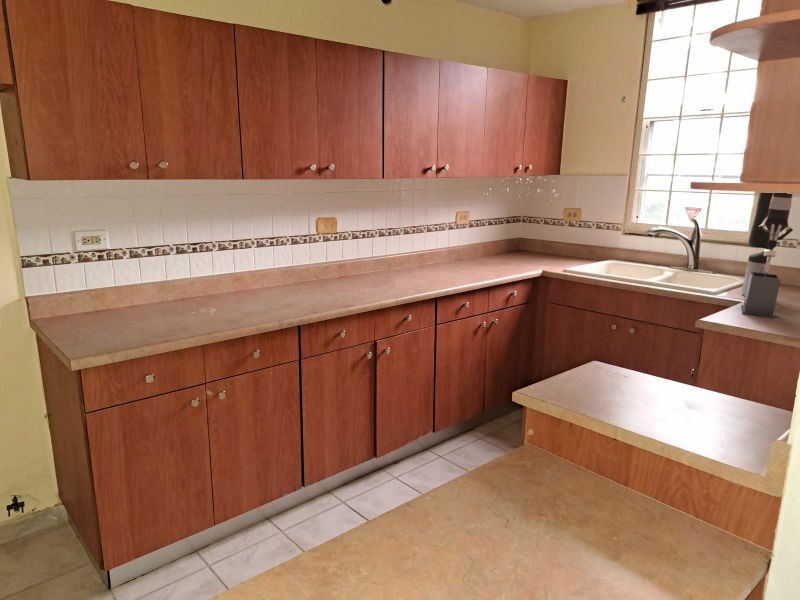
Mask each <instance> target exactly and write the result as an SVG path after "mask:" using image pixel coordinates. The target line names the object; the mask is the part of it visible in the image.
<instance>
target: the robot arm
mask: <svg viewBox="0 0 800 600" xmlns="http://www.w3.org/2000/svg"><path fill="white" fill-rule="evenodd" d="M793 195H794V193H793V194H787V193H760V192H759V194H758V198H757V203H756V204H757V205H756V210H755V215H754V220H753V223H752V226H751V230H750V234H749V238H748V246H749V247H751V248H759V249H764V250H763V251H761V252H758V253H757V252H756V253H752V254H749V256H748V260H747V263H746V269H745V275H744V279H743V285H742V288H741V295H742V296H746V291H747V286H748V281H749V276H750V272H758V270H759V268H760V266H764V271H765V267H766V262H767V257H768V256H764V251H765V250H774V249H775V248H776V247H777V242H778V241H780V240H784V238H785V237H787V236H788V235H789V234H791V233H792V232H793V231H794V229H793V228H791V226H790V225H789V222H788V220H789V216H790V212H791V211H790V210H791V208H792V200H793ZM763 222H764V223H763ZM783 230H784V232H783ZM782 232H783V233H782ZM781 233H782V234H781ZM771 260H772V258H771V259H770V262H771ZM770 265H771V263H770V264H769V266H770ZM769 268H770V267H769ZM769 268H768V271H769V270H770V269H769ZM767 274H769V272H768V273H767Z"/></svg>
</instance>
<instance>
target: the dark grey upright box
mask: <svg viewBox="0 0 800 600" xmlns="http://www.w3.org/2000/svg"><path fill="white" fill-rule="evenodd" d="M763 276H764V273H758V272H750V276H749V281H748V286H747V291H746V296H745V297H744V302H743V304H742V305H741V307H740V310H741V314H742V315H745V316H746V315H747V316H752V317H753V316H754V317H758V318H759V317H760V318H765V317H767V318H766V319H772V318H774V319H775V317H776V315H775V307H776V304H777V303H776V302H777V299H778V294H779V290H780V285H781V282H782V281H781V280H782V279H781V277H780V276H779V274H775V273H768V274H767V277H763Z"/></svg>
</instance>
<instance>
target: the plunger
mask: <svg viewBox="0 0 800 600" xmlns="http://www.w3.org/2000/svg"><path fill="white" fill-rule="evenodd" d="M764 250H765V249H764ZM764 250H763V251H764ZM776 254H777V250H774V249H773V250H765V251H764V256H768V257H767V262H766V267H765V271H764V276H763V277H767V273H768V274H769V270H768V268H770V265H771V261H770V259H771V260H772V258H776ZM769 264H770V265H769Z"/></svg>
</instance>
